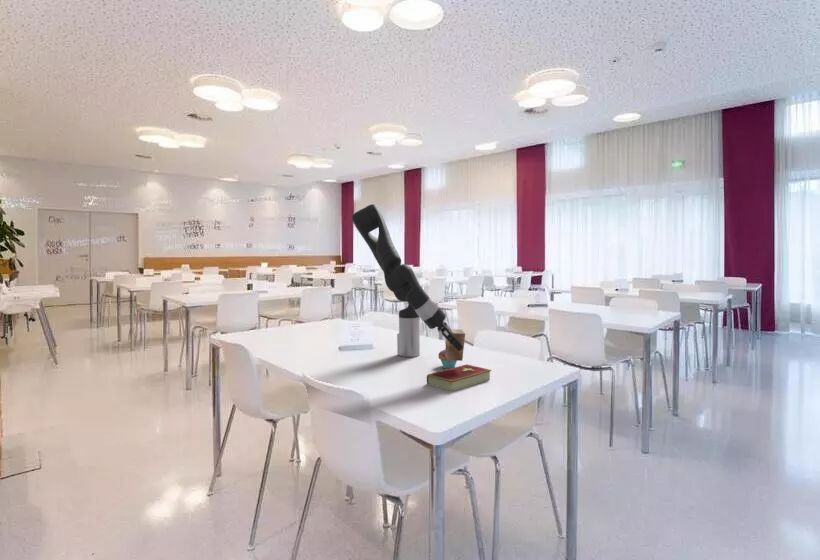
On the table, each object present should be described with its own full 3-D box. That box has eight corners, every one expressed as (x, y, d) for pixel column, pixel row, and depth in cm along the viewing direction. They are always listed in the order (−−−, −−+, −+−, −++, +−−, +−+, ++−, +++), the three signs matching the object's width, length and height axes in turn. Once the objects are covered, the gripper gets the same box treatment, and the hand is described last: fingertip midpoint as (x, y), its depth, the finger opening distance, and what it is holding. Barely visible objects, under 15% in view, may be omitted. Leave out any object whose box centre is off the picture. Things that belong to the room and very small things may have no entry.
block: (447, 359, 163) (449, 332, 161) (444, 354, 168) (447, 328, 166) (462, 360, 163) (465, 333, 162) (459, 355, 169) (462, 329, 167)
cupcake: (450, 370, 177) (450, 340, 176) (433, 367, 183) (433, 337, 182) (463, 366, 183) (463, 337, 182) (447, 363, 189) (446, 334, 188)
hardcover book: (426, 385, 159) (426, 373, 159) (466, 374, 173) (466, 363, 173) (452, 393, 151) (452, 380, 150) (491, 380, 165) (491, 369, 164)
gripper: (419, 314, 169) (448, 347, 172) (424, 324, 155) (455, 360, 158) (435, 301, 169) (463, 334, 172) (441, 310, 155) (471, 346, 158)
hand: (459, 346), depth 165 cm, fingers closed on block, 5 cm apart
